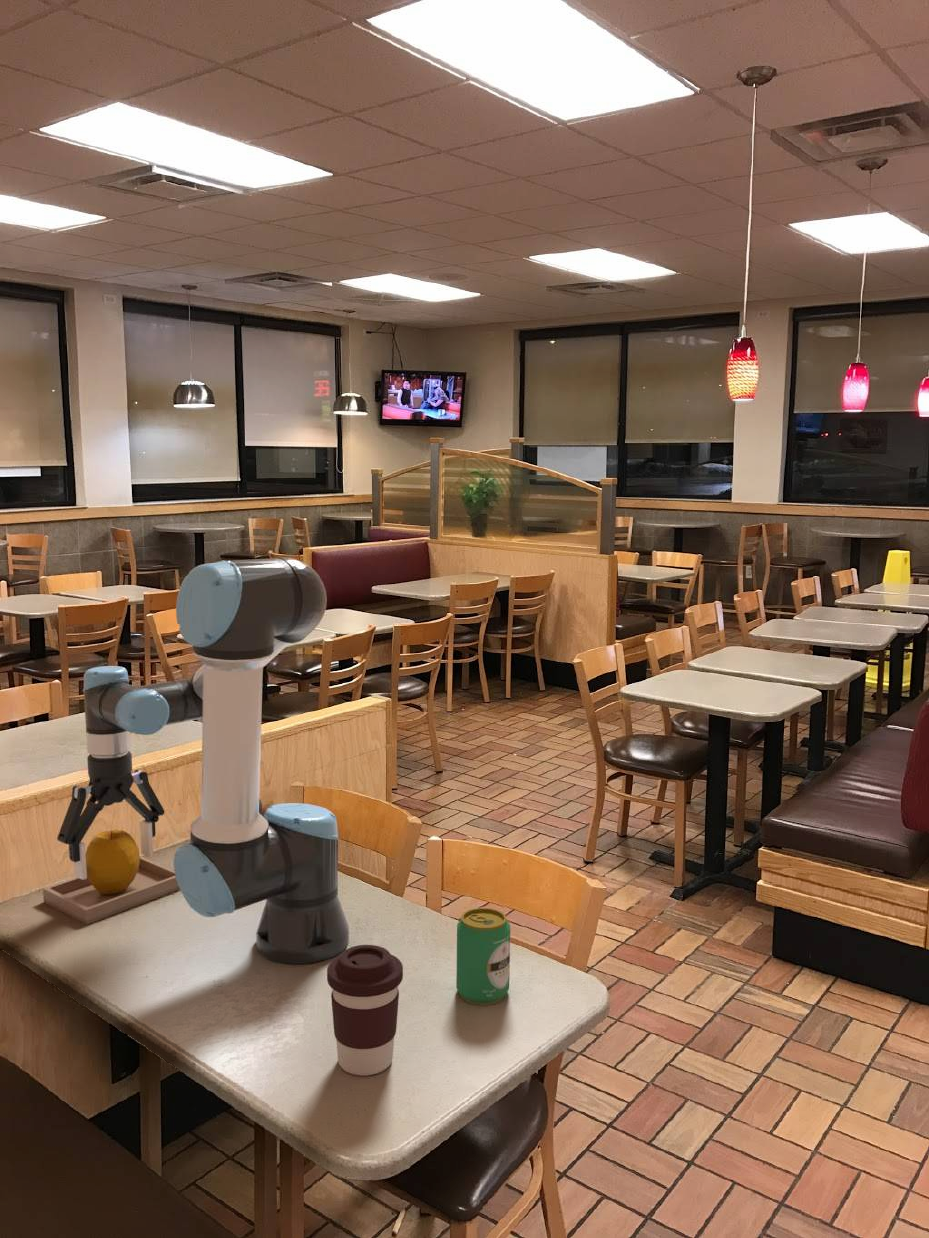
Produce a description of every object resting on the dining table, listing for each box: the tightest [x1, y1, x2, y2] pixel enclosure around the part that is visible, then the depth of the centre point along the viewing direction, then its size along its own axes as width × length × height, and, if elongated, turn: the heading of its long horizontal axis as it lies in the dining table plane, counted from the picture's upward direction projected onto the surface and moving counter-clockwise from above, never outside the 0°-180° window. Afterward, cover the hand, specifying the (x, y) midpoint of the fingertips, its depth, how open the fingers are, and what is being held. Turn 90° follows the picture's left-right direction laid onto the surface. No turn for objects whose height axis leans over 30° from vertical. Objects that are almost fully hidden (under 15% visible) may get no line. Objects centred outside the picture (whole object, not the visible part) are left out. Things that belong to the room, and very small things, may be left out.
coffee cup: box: [326, 944, 404, 1077], centre depth 134 cm, size 10×10×15 cm
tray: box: [42, 855, 181, 925], centre depth 186 cm, size 20×14×3 cm
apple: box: [85, 829, 140, 895], centre depth 185 cm, size 10×10×12 cm
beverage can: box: [455, 907, 511, 1006], centre depth 152 cm, size 8×8×12 cm
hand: (114, 866), depth 185 cm, fingers open, 13 cm apart
